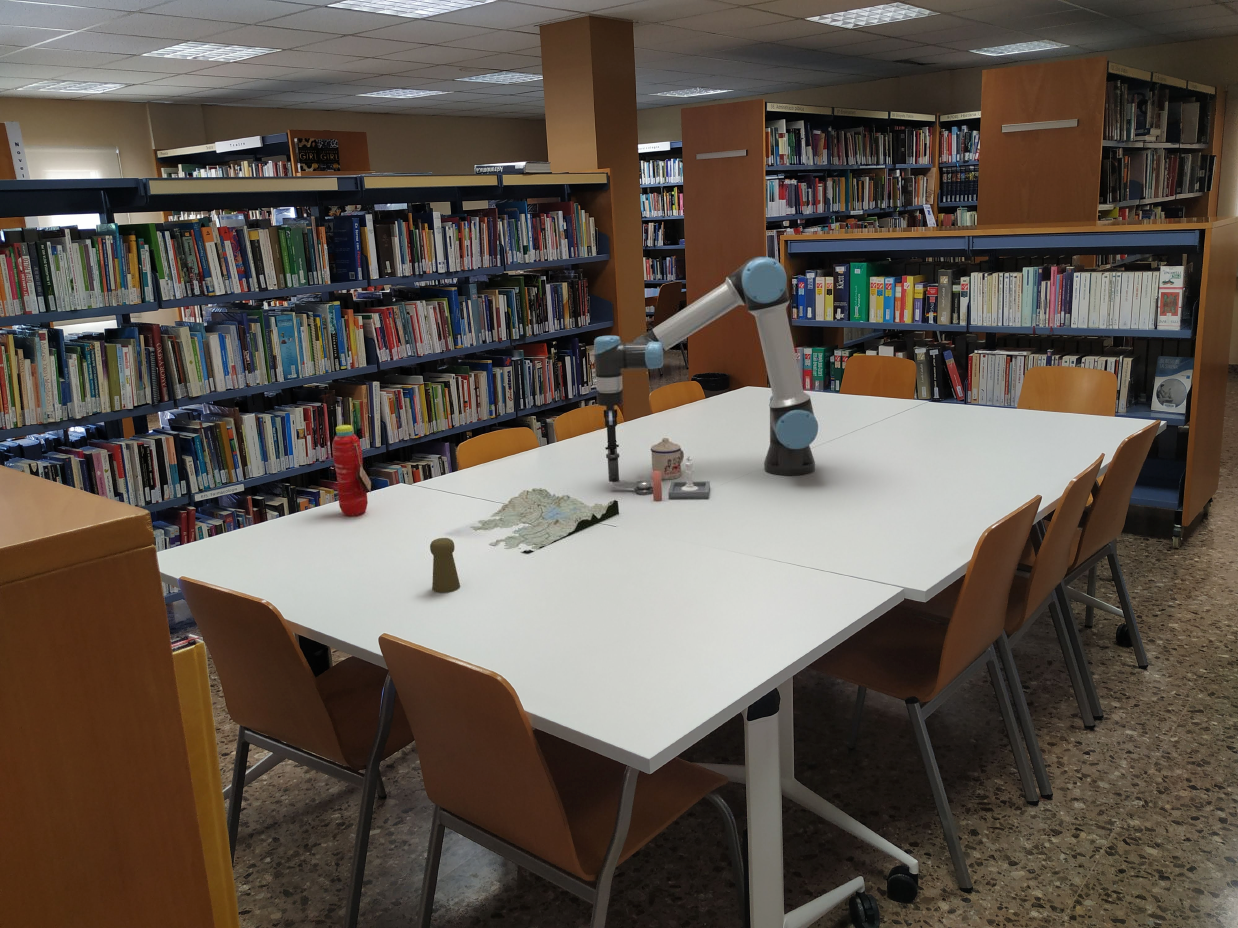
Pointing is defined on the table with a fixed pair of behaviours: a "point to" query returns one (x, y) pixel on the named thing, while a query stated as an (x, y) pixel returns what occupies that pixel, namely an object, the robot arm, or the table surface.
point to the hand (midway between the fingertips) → (613, 470)
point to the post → (657, 486)
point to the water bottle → (350, 472)
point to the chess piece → (689, 477)
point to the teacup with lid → (667, 459)
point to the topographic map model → (545, 518)
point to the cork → (444, 566)
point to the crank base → (643, 491)
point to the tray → (678, 494)
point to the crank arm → (614, 475)
